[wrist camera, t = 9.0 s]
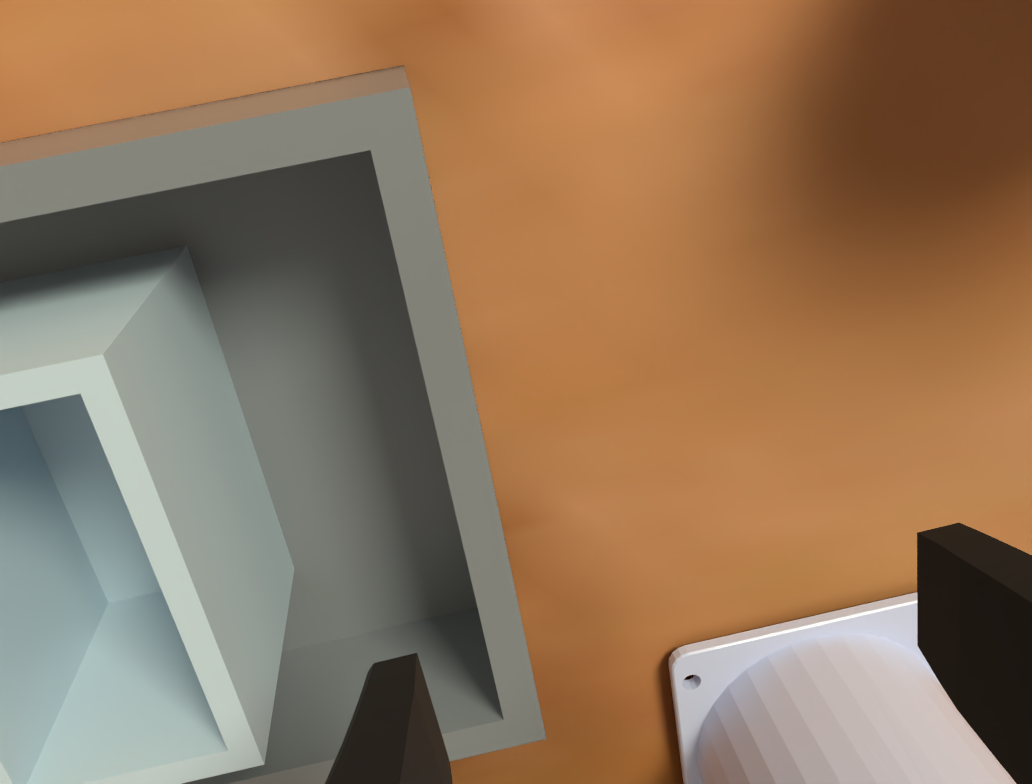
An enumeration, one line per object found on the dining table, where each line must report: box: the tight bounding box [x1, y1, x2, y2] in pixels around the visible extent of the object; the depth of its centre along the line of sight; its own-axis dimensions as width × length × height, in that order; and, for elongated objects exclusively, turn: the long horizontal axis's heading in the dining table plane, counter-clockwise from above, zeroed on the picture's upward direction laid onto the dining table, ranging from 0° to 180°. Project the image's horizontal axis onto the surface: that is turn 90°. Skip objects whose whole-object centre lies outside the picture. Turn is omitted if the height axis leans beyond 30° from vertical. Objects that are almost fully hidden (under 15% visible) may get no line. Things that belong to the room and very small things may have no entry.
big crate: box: [0, 65, 546, 784], centre depth 18 cm, size 14×15×4 cm
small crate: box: [0, 246, 294, 784], centre depth 17 cm, size 8×5×6 cm, turn 10°
